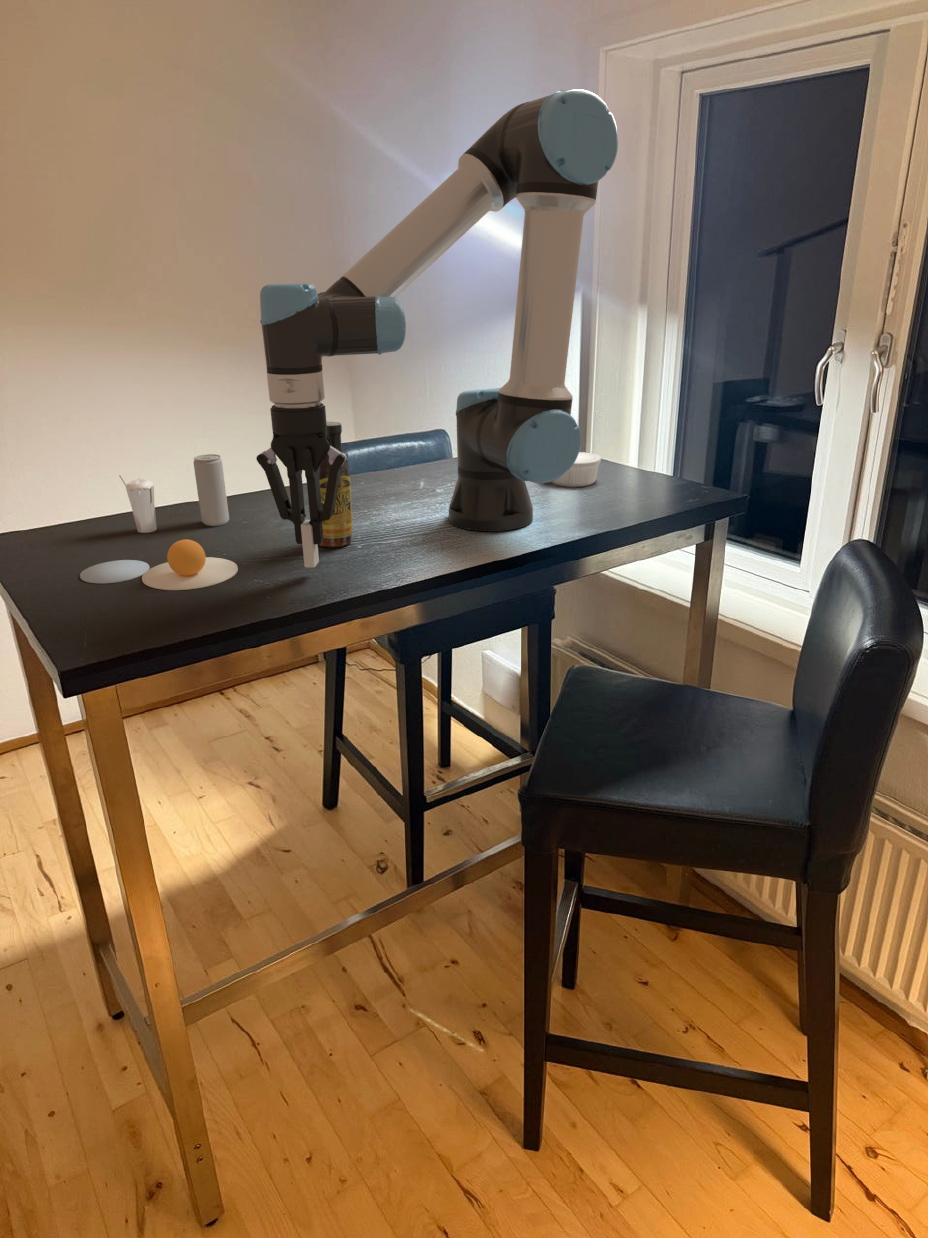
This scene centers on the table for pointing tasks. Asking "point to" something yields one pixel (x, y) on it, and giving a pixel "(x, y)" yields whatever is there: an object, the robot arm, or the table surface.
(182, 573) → the ball
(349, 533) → the sauce bottle
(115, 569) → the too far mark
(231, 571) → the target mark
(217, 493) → the beverage can
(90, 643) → the table surface
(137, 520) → the milkshake
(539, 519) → the table surface
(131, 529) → the table surface
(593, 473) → the ramekin
